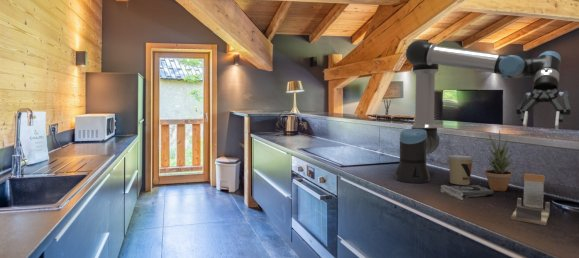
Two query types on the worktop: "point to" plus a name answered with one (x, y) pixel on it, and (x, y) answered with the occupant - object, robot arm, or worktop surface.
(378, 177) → the worktop surface
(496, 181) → the potted plant
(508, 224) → the worktop surface
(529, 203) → the latch lever
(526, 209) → the base
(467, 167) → the coffee cup
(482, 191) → the graphics card
